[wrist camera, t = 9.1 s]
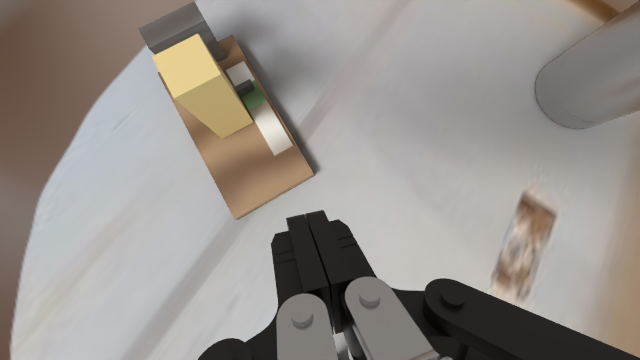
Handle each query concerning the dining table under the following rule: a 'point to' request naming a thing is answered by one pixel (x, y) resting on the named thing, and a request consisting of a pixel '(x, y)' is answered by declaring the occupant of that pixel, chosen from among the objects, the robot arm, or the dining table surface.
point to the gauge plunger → (203, 86)
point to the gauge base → (245, 144)
